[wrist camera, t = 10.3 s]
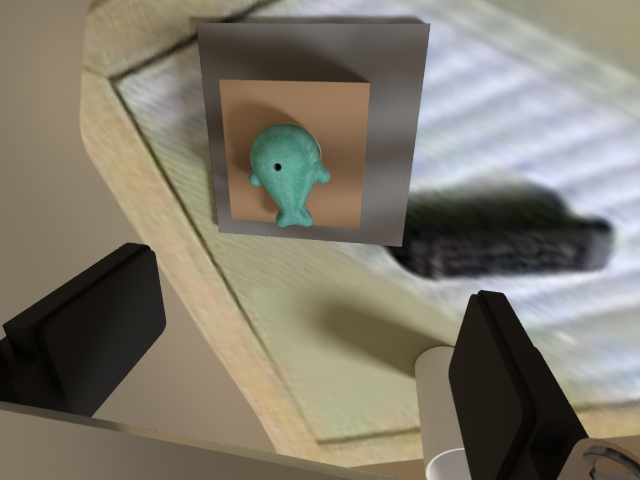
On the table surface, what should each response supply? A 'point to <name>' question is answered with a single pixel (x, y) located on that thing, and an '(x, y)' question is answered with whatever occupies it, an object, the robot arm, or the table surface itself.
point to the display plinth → (326, 62)
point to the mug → (439, 417)
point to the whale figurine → (288, 169)
